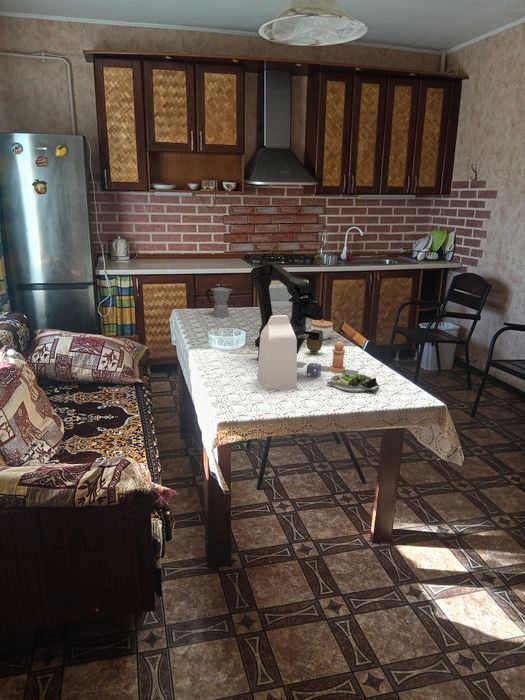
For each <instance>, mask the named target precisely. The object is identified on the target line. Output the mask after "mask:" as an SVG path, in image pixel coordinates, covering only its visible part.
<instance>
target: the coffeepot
mask: <svg viewBox="0 0 525 700" xmlns="http://www.w3.org/2000/svg"><path fill="white" fill-rule="evenodd" d="M209 292H210V293H213V300H214V305H213V312H212V316H213V317H216V318H227V317H229V316H230V313H229V306H228V301H229V297H230V295H231V293H232V292H233V289H232V288H226V287H223V284H222V283H220V284H219V286H218V287H215V288H211V287H209V288H207V289H206V290H205V292H204V293H205V295H206V298H207V302H208V303H209V304H213V301H212V300H211V296H210V294H209Z"/></svg>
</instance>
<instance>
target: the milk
mask: <svg viewBox="0 0 525 700" xmlns="http://www.w3.org/2000/svg"><path fill="white" fill-rule="evenodd" d="M257 360H258V359H257ZM297 362H298V354H297V340H296V336H295V333H294V331H293V329H292V326H291V324H290V319H289V316H288V315H285V314H284V315H273V316H271V317H270V319H269V321H268V323H267V325H266V326H265V327H264V329H263V330H262V332H261V335H260V347H259V360H258V363H257V374H256V380H257V382H258V384H260V386H261V387H262V388H263V389H264V390H265V391H276V390H291V389H298V388H297V387H298V377H297V376H298V367H297Z"/></svg>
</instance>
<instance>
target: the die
mask: <svg viewBox="0 0 525 700" xmlns="http://www.w3.org/2000/svg"><path fill="white" fill-rule="evenodd" d="M321 365H322V364H321V363H314V362H310V363H309V365H307V369H306V371H305V372H306V377H308V378H315V379H318V378H319V377H320V376H321V374H322V371H321Z"/></svg>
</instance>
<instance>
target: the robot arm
mask: <svg viewBox="0 0 525 700" xmlns="http://www.w3.org/2000/svg"><path fill="white" fill-rule="evenodd" d="M249 274H250V275H249V276H250V278H251V283H252V285H253V286H254V287H255V289H256V291H257V299H258V305H259V312H260V318H261V326H260V327H259V331H258V333H259V334H258V335H259V336H258V337H257V338H256V339H255V341H254V345H255V347H256V348H258V349H257V350H258V354H257V356H256V360H259V347H260V335H261V332H262V330H263V329H264V327H265V326H266V325H267V323H268V321H269V319H270V317H271V316H274V313H273V306H272V301H271V293H270V292H271V291H270V286H271V284H272V279H273V278H272V277H274V278H275V279H276V280H278V281H279V282H280V283H281V284H282V285H283V286H284V287H286V289H287V293H289V295H290V296H291V297H290V298H289V299H288V302H290V303H291V317H290V319H289V321H290V324H291V326H292V329H293V331H294V333H295V336H296V340H297V355H299V352H300V350H301V348H302V346H303V344H304V342H305V341H307V338H308V337H309V338H310V339H311V340H317V341H318V340H320V339H321V338H322V337H323V332H322V330H315V329H313V330H312V331H311V330H309V331H308V330H307V320H308V319H310V320H313V321H319V320H321V318H322V317H323V315H324V310H323V307H322V306H321V304H320V301H317V300H316V297H315V294H314V292H313V290H312V287H311V284H310V283H309V282H307V281H306V280H304V279H301V278H298V277H295V276H294V275H293V274H292V273H290V272H289V271H287V270H286V269H285V268H284V267H282V266H281V265H280V263H279V262H275V261H273V262H267V263H265V264H264V265H260V266H258V267H255V266H254V267H253V268H251V271H250V273H249Z"/></svg>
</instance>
